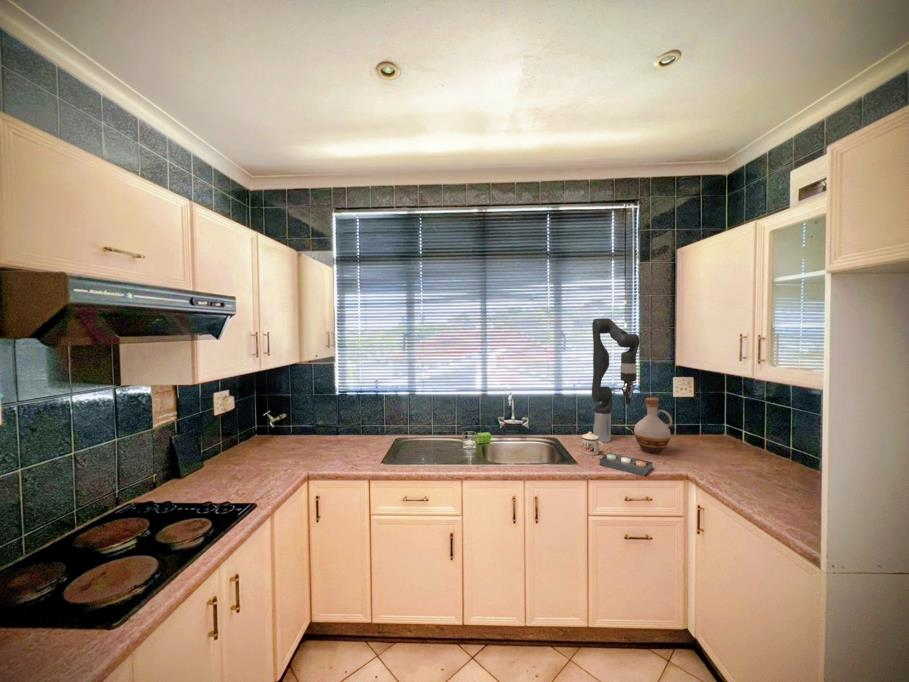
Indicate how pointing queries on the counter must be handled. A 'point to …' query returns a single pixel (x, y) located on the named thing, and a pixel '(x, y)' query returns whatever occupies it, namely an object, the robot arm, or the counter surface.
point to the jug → (653, 429)
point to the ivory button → (626, 460)
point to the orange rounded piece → (641, 463)
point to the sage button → (611, 456)
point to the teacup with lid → (591, 444)
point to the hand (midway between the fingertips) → (628, 404)
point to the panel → (626, 465)
